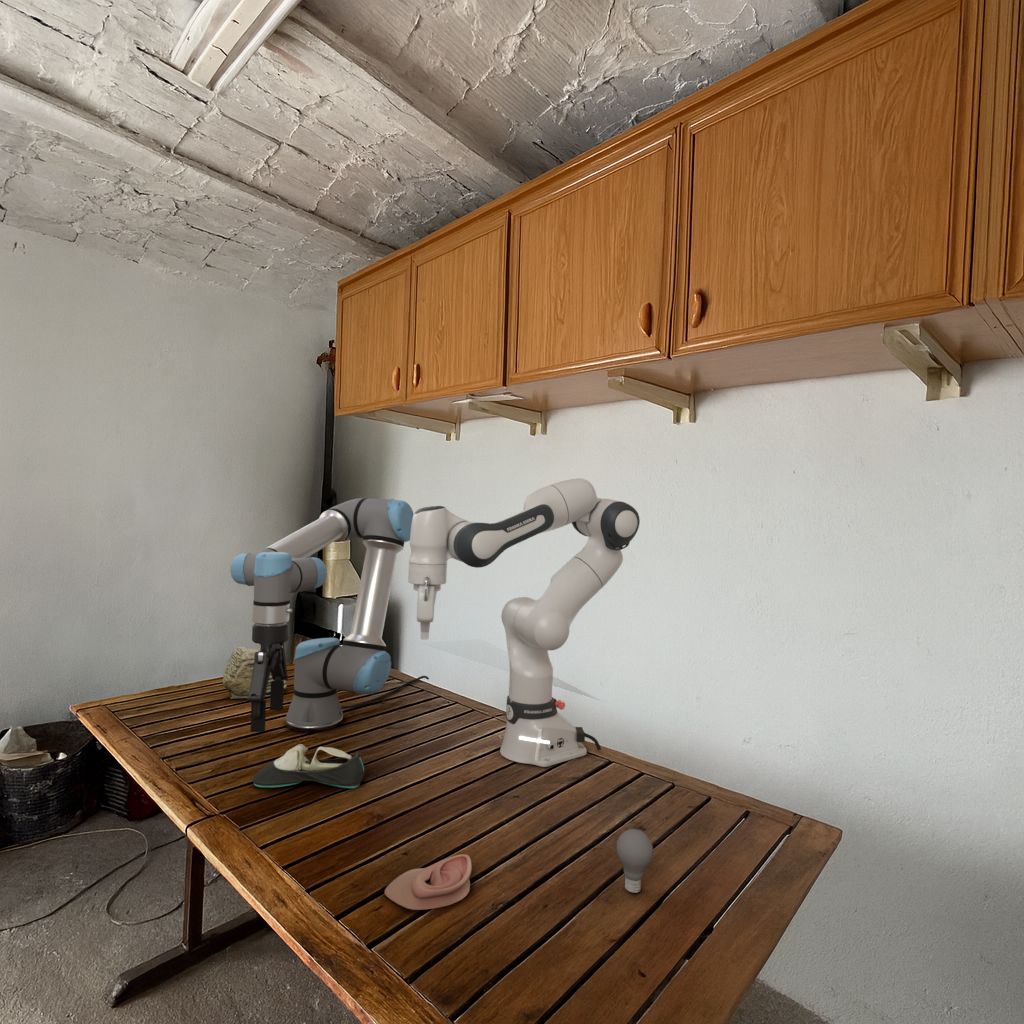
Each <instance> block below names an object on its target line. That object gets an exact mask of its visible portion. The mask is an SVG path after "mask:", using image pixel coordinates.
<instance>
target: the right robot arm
mask: <svg viewBox="0 0 1024 1024" xmlns="http://www.w3.org/2000/svg"><path fill="white" fill-rule="evenodd" d="M413 513H414V515H413V518H412V523H411V532H410V541H409V545H410V547H409V548H410V557H409V558H408V576H407V577H408V578H407V582H408V583H409V584H411V585H413V590H414V591H416V592H417V602H416V604H417V605H416V621H417V622H418V623H420V624H419V625H420V640H424V641H425V640H429V638H430V627H431V623H433V622H434V619H435V604H436V599H437V593H438V592H440V591H441V590H442V588H441V587H442V585H445V584H447V576H448V575H447V572H448V560H450V559H453V560H456V561H459V562H461V563H463V564H465V565H466V566H468V567H472V568H477V569H479V568H484V567H487V566H489V565H491V564H492V563H493V562H495V560H496V559H498V558H499V556H501V554H502V553H504V552H505V551H506V550H507V549H509V548H511V547H513V546H516V545H517V544H519V543H522V542H524V541H526V540H528V539H531V538H532V537H535V536H537V535H539V534H542V533H547V532H551V531H555V530H556V529H561V528H563V527H565V526H568V525H570V524H571V525H572V526H573V528H574V530H575V531H576V532H578V534H580V535H582V536H585V537H588V538H587V541H586V542H585V545H584V546H583V547H582V549H581V550H580V551H578V552H577V553H576V554H575V555H574V556H572V558H570V559H569V560H568V561H567V562H566V563H565V564H564V565H562V566H561V568H559V569H558V570H557V571H555V573H554V574H553V575H552V576H551V578H550V583H549V585H548V586H547V588H546V589H545V591H544V593H543V594H542V595H541V597H539V598H538V599H534V598H532V597H527V596H519V597H514V598H511V599H510V600H507V602H506V603H505V604H504V606H503V608H502V611H501V616H500V617H501V622H502V624H503V628H504V631H505V640H506V647H507V655H508V662H509V677H508V678H509V680H508V682H509V683H508V695H507V697H506V705H505V706H506V708H505V716H506V717H505V719H506V724H505V729H504V735H503V738H502V743H501V745H500V749H499V753H500V755H501V756H502V757H503V758H505V759H507V760H509V761H512V762H515V763H519V764H527V765H533V766H537V767H540V768H548V767H551V766H554V765H559V764H561V763H564V762H567V761H571V760H575V759H577V758H580V757H584V756H587V754H588V752H587V747H586V746H585V745H584V744H583V743H585V742H586V738H587V739H590V741H592V742H593V743H594V744H595V746H596V749H597V750H598V751H600V750H601V749H602V748H601V745H600V743H599V740H597V738H596V737H594V736H593V735H591V734H589V733H586V732H585V731H584V729H583V727H582V726H575V725H574V724H573V723H572V722H571V721H569V720H568V719H567V718H566V717H564V715H562V714H561V713H560V712H558V709H559V710H561V711H562V710H565V708H566V702H564V701H563V700H561V699H558V700H557V699H556V698H554V696H553V679H554V668H553V667H554V666H553V665H552V661H551V659H550V656H549V651H556V650H558V649H560V648H562V647H563V646H564V644H566V642H567V640H568V639H569V635H570V628H571V625H572V624H573V622H574V620H575V618H576V616H577V615H578V614H579V612H580V611H581V610H582V608H583V607H584V606H586V605H587V603H588V602H589V601H590V600H591V599H592V598H593V597H595V595H597V593H599V592H600V591H601V589H603V588H604V587H605V586H606V585H607V584H608V583H609V582H610V580H611V579H612V578H613V577H614V576H615V574H616V573H617V572H618V571H619V569H620V568H621V566H622V563H623V562H624V561H623V560H624V555H623V551H622V550H623V549H626V548H628V546H630V543H631V541H632V540H633V539H634V538H635V536H636V534H637V533H638V530H639V528H640V520H641V519H640V514H639V512H638V511H637V510H636V508H634V506H632V505H630V504H629V503H627V502H624V501H620V500H619V501H618V500H615V499H611V498H601V497H598V496H597V492H596V490H595V487H594V486H593V484H592V483H591V482H590V481H589V480H587V479H585V478H579V477H578V478H572V479H571V478H570V479H566V480H561V481H558V482H555V483H552V484H549V485H546V486H543V487H541V488H539V489H537V490H535V491H534V492H532V493H531V494H529V495H528V496H527V497H526V498H525V500H524V503H523V510H522V511H520V512H518V513H516V514H513V515H511V516H509V517H506V518H504V519H502V520H499V521H496V522H493V523H490V522H473V521H468V520H466V519H464V518H462V517H460V516H458V515H456V514H454V513H453V512H451V511H450V510H449V509H447V507H446V506H443V505H435V506H434V505H432V506H425V507H421V508H419V509H417V510H416V511H414V512H413ZM557 708H558V709H557Z"/></svg>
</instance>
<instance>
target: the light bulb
mask: <svg viewBox="0 0 1024 1024" xmlns="http://www.w3.org/2000/svg"><path fill="white" fill-rule="evenodd" d="M615 849H616V854H617V857H618V859H619V861H620V863H621V865H622V867H623V873H624V874H623V875H624V876H625V878H624V888H625V890H627V891H628V892H630V893H634V894H635V893H639V892H640V891H641V889H642V887H641V886H642V879H643V877H644V875H645V871H646V868H647V867H648V866H649V864H650V863H651V861H652V859H653V855H654V847H653V843H652V841H651V838H649V836H648V835H647V834H646V833H645V832H643V831H642V830H641V829H636V828H629V829H627V830H625V831H623V832H622V833H621V834H620V835H619V837H618V839H617V841H616V847H615Z"/></svg>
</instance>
